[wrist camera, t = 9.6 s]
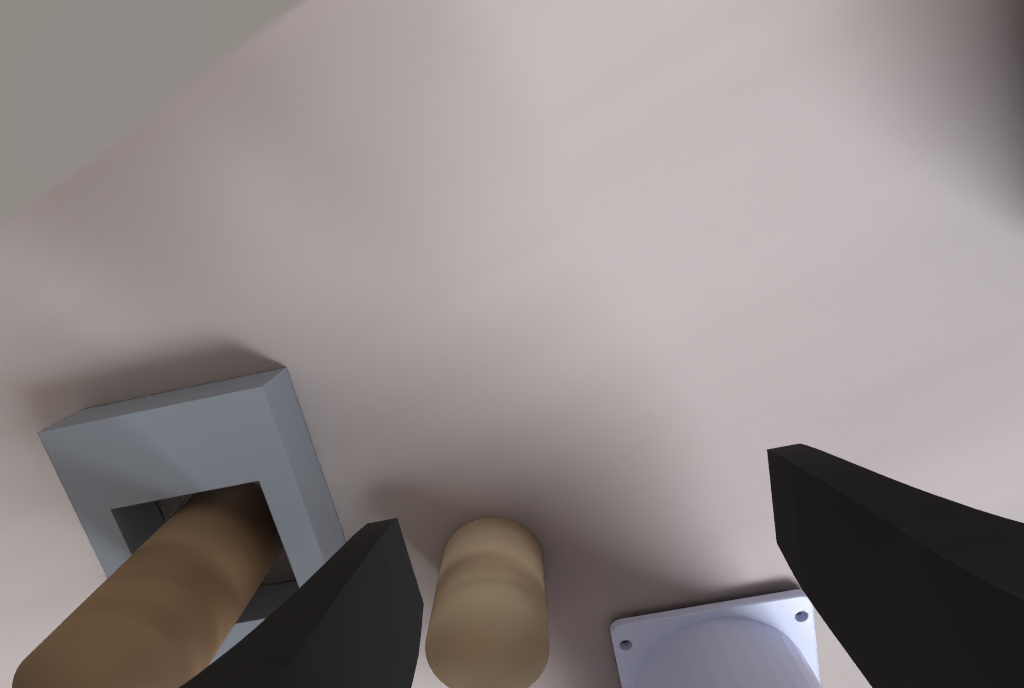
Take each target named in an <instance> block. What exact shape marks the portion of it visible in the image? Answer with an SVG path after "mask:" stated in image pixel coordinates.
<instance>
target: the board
mask: <svg viewBox="0 0 1024 688" xmlns="http://www.w3.org/2000/svg"><path fill="white" fill-rule="evenodd" d="M38 435H39V437H40V439H41V441H42V443H43V445H44V448H45V450H46V452H47V454H48V456H49V458H50V460H51V462H52V464H53V466H54V468H55V470H56V472H57V474H58V477H59V479H60V481H61V483H62V485H63V487H64V489H65V491H66V493H67V495H68V497H69V499H70V501H71V503H72V505H73V508H74V510H75V512H76V514H77V516H78V518H79V520H80V522H81V524H82V526H83V528H84V530H85V532H86V534H87V537H88V539H89V541H90V543H91V545H92V547H93V549H94V551H95V553H96V555H97V557H98V559H99V561H100V563H101V566H102V568H103V570H104V572H105V574H106V576H107V578H109V577H110V576H111V575H112V574H113V573H114V572H115V571H116V570H117V569H118V568H119V567H120V566H121V565H122V564H123V563H124V562H125V561H126V560H127V559H128V558H129V557H130V556H131V555H132V554H133V553H135V552H136V551H137V550H138V549H139V548H140V547H141V546H142V545H143V544H144V543H145V542H146V541H147V540H148V539H149V538H150V537H151V536H152V535H153V534H154V533H155V532H156V531H157V530H158V529H159V528H160V527H161V526H162V525H163V524H164V523H165V522H164V520H163V518H162V515H161V513H160V511H159V508H158V506H157V504H156V502H155V501H156V500H161V499H167V498H172V497H177V496H182V495H187V494H192V493H198V492H203V491H208V490H213V489H218V488H223V487H229V486H234V485H239V484H244V483H249V482H254V481H259V482H260V485H261V488H262V490H263V493H264V495H265V498H266V501H267V503H268V506H269V509H270V511H271V514H272V517H273V519H274V522H275V525H276V527H277V530H278V533H279V535H280V538H281V541H282V543H283V546H284V549H285V551H286V554H287V556H288V559H289V562H290V564H291V567H292V570H293V572H294V575H295V578H296V581H290V582H284V583H279V584H273V585H268V586H262V587H258V589H257V591H256V592H255V594H254V595H253V597H252V598H251V600H250V601H249V603H248V605H247V606H246V608H245V609H244V611H243V612H242V614H241V616H240V617H239V619H238V620H237V622H236V623H235V625H234V626H233V628H232V630H231V631H230V633H229V634H228V636H227V637H226V639H225V641H224V642H223V644H222V645H221V647H220V648H219V650H218V652H217V653H216V655H215V656H214V658H213V659H212V661H211V662H210V664H211V663H213V662H214V661H215V660H217V659H218V658H219V657H221V656H222V655H223V654H224V653H226V652H227V651H228V650H229V649H231V648H232V647H233V646H234V645H236V644H237V643H238V642H239V641H241V640H242V639H243V638H244V637H245V636H246V635H248V634H249V633H250V632H251V631H252V630H254V629H255V628H256V627H257V626H258V625H259V624H260V623H261V622H262V621H264V620H265V619H266V618H267V617H268V616H269V615H270V614H271V613H272V612H274V611H275V610H276V609H277V608H278V607H279V606H280V605H281V604H282V603H284V602H285V601H286V600H287V599H288V598H289V597H290V596H291V595H292V594H294V593H295V592H296V591H297V590H298V589H299V588H300V587H301V586H302V585H303V584H304V583H305V582H306V581H307V580H308V579H309V578H310V577H311V576H312V575H313V574H314V573H315V572H316V571H317V570H319V569H320V568H321V567H322V566H323V565H324V564H325V563H326V562H327V561H328V560H329V559H330V558H331V557H332V556H333V555H334V554H335V553H336V552H337V551H338V550H339V549H340V548H341V547H342V546H343V545H344V544H345V543H346V541H345V538H344V535H343V532H342V529H341V526H340V523H339V520H338V517H337V514H336V511H335V508H334V505H333V502H332V500H331V497H330V494H329V491H328V488H327V485H326V482H325V479H324V476H323V473H322V470H321V467H320V464H319V462H318V459H317V456H316V453H315V450H314V447H313V444H312V441H311V438H310V435H309V432H308V429H307V426H306V423H305V421H304V418H303V415H302V412H301V409H300V406H299V403H298V400H297V397H296V394H295V391H294V388H293V385H292V382H291V380H290V377H289V374H288V371H287V368H286V367H285V368H280V369H275V370H270V371H266V372H261V373H256V374H251V375H246V376H241V377H237V378H232V379H227V380H222V381H217V382H213V383H208V384H203V385H198V386H193V387H188V388H184V389H179V390H174V391H169V392H164V393H160V394H155V395H150V396H145V397H140V398H135V399H131V400H126V401H121V402H116V403H111V404H107V405H102V406H97V407H92V408H87V409H82V410H80V411H78V412H76V413H74V414H72V415H70V416H68V417H66V418H65V419H63V420H61V421H59V422H57V423H55V424H53V425H51V426H49V427H47V428H46V429H44V430H42V431H40V432H38ZM210 664H209V665H210Z"/></svg>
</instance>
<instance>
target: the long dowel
mask: <svg viewBox="0 0 1024 688" xmlns="http://www.w3.org/2000/svg"><path fill="white" fill-rule="evenodd" d="M283 548H284V546H283V543H282V541H281V538H280V535H279V533H278V530H277V527H276V525H275V522H274V519H273V517H272V514H271V511H270V509H269V506H268V503H267V501H266V498H265V495H264V493H263V490H262V488H261V487H259V486H257V485H255V484H252V483H244V484H239V485H234V486H229V487H223V488H218V489H213V490H208V491H203V492H198V493H195V494H194V495H193V496H192V497H191V498H190V499H189V500H188V501H187V502H186V503H185V504H184V505H183V506H182V507H181V508H180V509H179V510H178V511H177V512H176V513H175V514H174V515H173V516H172V517H171V518H170V519H169V520H168V521H167V522H165V523H164V524H163V525H162V526H161V527H160V528H159V529H158V530H157V531H156V532H155V533H154V534H153V535H152V536H151V537H150V538H149V539H148V540H147V541H146V542H145V543H144V544H143V545H142V546H141V547H140V548H139V549H138V550H137V551H136V552H135V553H133V554H132V555H131V556H130V557H129V558H128V559H127V560H126V561H125V562H124V563H123V564H122V565H121V566H120V567H119V568H118V569H117V570H116V571H115V572H114V573H113V574H112V575H111V576H110V577H109V578H108V579H107V580H106V581H105V582H104V583H103V584H102V585H100V586H99V587H98V588H97V589H96V590H95V591H94V592H93V593H92V594H91V595H90V596H89V597H88V598H87V599H86V600H85V601H84V602H83V603H82V604H81V605H80V606H79V607H78V608H77V609H76V610H75V611H74V612H73V613H72V614H71V615H70V616H69V617H67V618H66V619H65V620H64V621H63V622H62V623H61V624H60V625H59V626H58V627H57V628H56V629H55V630H54V631H53V632H52V633H51V634H50V635H49V636H48V637H47V638H46V639H45V640H44V641H43V642H42V643H41V644H40V645H39V646H38V647H37V648H36V649H34V650H33V651H32V652H31V653H30V654H29V655H28V656H27V657H26V658H25V659H24V660H23V661H22V662H21V664H20V665H19V667H18V668H17V670H16V673H15V675H14V679H13V683H12V688H179V687H180V686H182V685H183V684H185V683H186V682H188V681H189V680H190V679H192V678H193V677H194V676H196V675H197V674H198V673H200V672H201V671H202V670H204V669H205V668H206V667H208V666H209V664H210V662H211V661H212V659H213V658H214V656H215V655H216V653H217V652H218V650H219V648H220V647H221V645H222V644H223V642H224V641H225V639H226V637H227V636H228V634H229V633H230V631H231V630H232V628H233V626H234V625H235V623H236V622H237V620H238V619H239V617H240V616H241V614H242V612H243V611H244V609H245V608H246V606H247V605H248V603H249V601H250V600H251V598H252V597H253V595H254V594H255V592H256V591H257V589H258V587H259V586H260V584H261V583H262V581H263V580H264V578H265V576H266V575H267V573H268V572H269V570H270V569H271V567H272V566H273V564H274V562H275V561H276V559H277V558H278V556H279V555H280V553H281V551H282V550H283Z"/></svg>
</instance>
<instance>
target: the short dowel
mask: <svg viewBox="0 0 1024 688" xmlns="http://www.w3.org/2000/svg"><path fill="white" fill-rule="evenodd" d="M425 651H426V657H427V661H428V663H429V666H430V668H431V669H432V671H433V673H434V674H435V675H436V676H437V678H438V679H439V680H440V681H441V682H443V683H444V684H445V685H446V686H448V687H449V688H527V687H529V686H530V685H531V684H532V683H534V682H535V681H536V680H537V679H538V678H539V676H540V675H541V673H542V672H543V670H544V668H545V666H546V663H547V660H548V655H549V642H548V626H547V610H546V593H545V577H544V561H543V553H542V549H541V546H540V544H539V542H538V540H537V539H536V537H535V536H534V535H533V534H532V533H531V532H530V531H529V530H528V529H527V528H526V527H524V526H522V525H521V524H519V523H517V522H515V521H512V520H509V519H505V518H500V517H485V518H479V519H475V520H473V521H470V522H468V523H466V524H464V525H463V526H461V527H460V528H458V529H457V530H456V531H455V532H454V533H453V534H452V536H451V537H450V538H449V540H448V542H447V544H446V546H445V550H444V554H443V559H442V564H441V569H440V573H439V578H438V583H437V588H436V593H435V598H434V603H433V608H432V613H431V618H430V622H429V627H428V632H427V637H426V644H425Z"/></svg>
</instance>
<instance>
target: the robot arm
mask: <svg viewBox="0 0 1024 688" xmlns="http://www.w3.org/2000/svg"><path fill="white" fill-rule="evenodd" d="M767 453H768V463H769V473H770V482H771V492H772V502H773V511H774V521H775V531H776V540H777V544H778V546H779V548H780V550H781V552H782V554H783V555H784V557H785V559H786V561H787V563H788V565H789V567H790V569H791V570H792V572H793V574H794V576H795V578H796V579H797V581H798V583H799V585H800V587H801V588H802V590H790V591H784V592H778V593H772V594H766V595H760V596H754V597H748V598H742V599H736V600H730V601H724V602H718V603H712V604H706V605H700V606H694V607H688V608H683V609H677V610H671V611H665V612H659V613H653V614H647V615H641V616H635V617H629V618H623V619H619V620H616V621H615V622H613V623H612V625H611V627H610V632H611V637H612V642H613V647H614V652H615V657H616V662H617V666H618V671H619V676H620V681H621V686H622V688H823V687H822V686H821V684H820V679H819V668H818V656H817V644H816V633H815V621H814V610H813V606H814V607H815V609H816V610H817V611H818V613H819V614H820V616H821V617H822V618H823V620H824V621H825V623H826V624H827V625H828V627H829V628H830V630H831V631H832V632H833V634H834V635H835V637H836V638H837V639H838V641H839V642H840V643H841V645H842V646H843V648H844V649H845V650H846V652H847V653H848V654H849V656H850V657H851V659H852V660H853V661H854V663H855V664H856V666H857V667H858V668H859V670H860V671H861V672H862V674H863V675H864V677H865V678H866V679H867V681H868V682H869V683H870V685H871V686H872V688H1024V523H1021V522H1018V521H1014V520H1010V519H1007V518H1003V517H1000V516H997V515H993V514H990V513H987V512H984V511H980V510H977V509H974V508H971V507H968V506H965V505H962V504H960V503H957V502H954V501H951V500H948V499H945V498H942V497H939V496H936V495H933V494H931V493H928V492H925V491H922V490H920V489H917V488H914V487H912V486H909V485H906V484H904V483H901V482H898V481H896V480H893V479H891V478H888V477H886V476H883V475H881V474H878V473H876V472H873V471H871V470H868V469H866V468H863V467H861V466H858V465H856V464H853V463H851V462H848V461H846V460H844V459H841V458H839V457H836V456H834V455H831V454H829V453H826V452H823V451H821V450H818V449H816V448H813V447H810V446H807V445H803V444H795V445H790V446H784V447H779V448H773V449H768V450H767ZM423 605H424V604H423V600H422V597H421V594H420V591H419V587H418V584H417V581H416V578H415V575H414V571H413V568H412V565H411V562H410V558H409V555H408V552H407V549H406V545H405V542H404V539H403V536H402V533H401V529H400V526H399V523H398V520H397V518H395V519H390V520H384V521H379V522H374V523H368V524H366V525H365V526H364V527H363V528H361V529H360V530H359V531H358V532H357V533H356V534H355V535H354V536H353V537H351V538H350V539H349V540H348V541H347V542H346V543H345V544H344V545H343V546H342V547H341V548H340V549H339V550H338V551H337V552H336V553H335V554H334V555H333V556H332V557H331V558H330V559H329V560H328V561H327V562H326V563H325V564H324V565H323V566H322V567H321V568H320V569H319V570H317V571H316V572H315V573H314V574H313V575H312V576H311V577H310V578H309V579H308V580H307V581H306V582H305V583H304V584H303V585H302V586H301V587H300V588H299V589H298V590H297V591H296V592H295V593H294V594H292V595H291V596H290V597H289V598H288V599H287V600H286V601H285V602H284V603H282V604H281V605H280V606H279V607H278V608H277V609H276V610H275V611H274V612H272V613H271V614H270V615H269V616H268V617H267V618H266V619H265V620H264V621H262V622H261V623H260V624H259V625H258V626H257V627H256V628H255V629H254V630H252V631H251V632H250V633H249V634H248V635H246V636H245V637H244V638H243V639H242V640H241V641H239V642H238V643H237V644H236V645H234V646H233V647H232V648H231V649H229V650H228V651H227V652H226V653H224V654H223V655H222V656H221V657H219V658H218V659H217V660H215V661H214V662H213V663H211V664H210V665H209V666H208V667H206V668H205V669H204V670H202V671H201V672H200V673H198V674H197V675H196V676H194V677H193V678H192V679H190V680H189V681H188V682H186V683H185V684H183V685H182V686H180V687H179V688H411V686H412V682H413V678H414V673H415V669H416V664H417V659H418V655H419V646H420V638H421V628H422V616H423ZM800 611H803V612H802V613H801V614H798V615H796V614H797V613H798V612H800ZM624 640H629V642H627V643H621V641H624Z"/></svg>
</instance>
